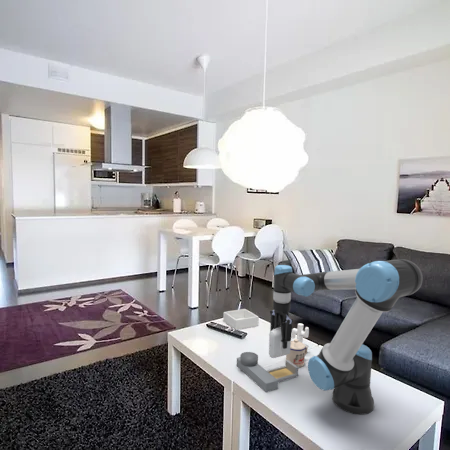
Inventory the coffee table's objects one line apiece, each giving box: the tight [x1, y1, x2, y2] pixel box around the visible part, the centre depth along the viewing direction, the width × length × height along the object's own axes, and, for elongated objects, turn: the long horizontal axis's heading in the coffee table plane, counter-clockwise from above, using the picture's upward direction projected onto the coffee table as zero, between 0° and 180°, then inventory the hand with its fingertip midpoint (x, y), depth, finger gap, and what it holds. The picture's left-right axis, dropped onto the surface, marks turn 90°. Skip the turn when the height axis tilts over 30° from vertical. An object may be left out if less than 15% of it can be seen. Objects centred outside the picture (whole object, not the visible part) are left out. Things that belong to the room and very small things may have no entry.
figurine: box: [291, 323, 310, 350], centre depth 170 cm, size 7×9×15 cm
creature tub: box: [222, 308, 260, 331], centre depth 207 cm, size 16×16×6 cm
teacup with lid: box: [285, 338, 308, 368], centre depth 160 cm, size 12×9×12 cm
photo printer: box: [268, 326, 292, 359], centre depth 146 cm, size 10×4×12 cm, turn 119°
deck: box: [236, 351, 299, 393], centre depth 150 cm, size 24×21×7 cm
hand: (279, 352), depth 147 cm, fingers closed on photo printer, 4 cm apart
